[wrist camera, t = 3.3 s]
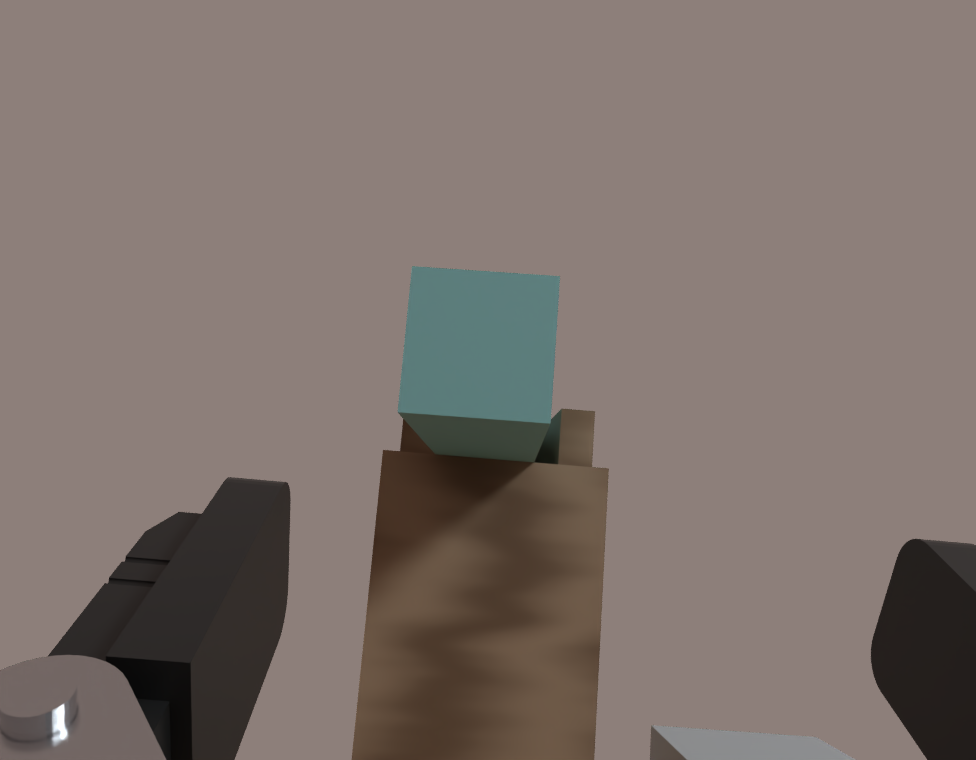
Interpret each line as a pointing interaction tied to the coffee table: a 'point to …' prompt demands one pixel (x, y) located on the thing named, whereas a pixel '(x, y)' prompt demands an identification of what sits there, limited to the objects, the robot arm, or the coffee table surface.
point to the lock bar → (479, 361)
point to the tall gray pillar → (736, 746)
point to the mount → (485, 603)
